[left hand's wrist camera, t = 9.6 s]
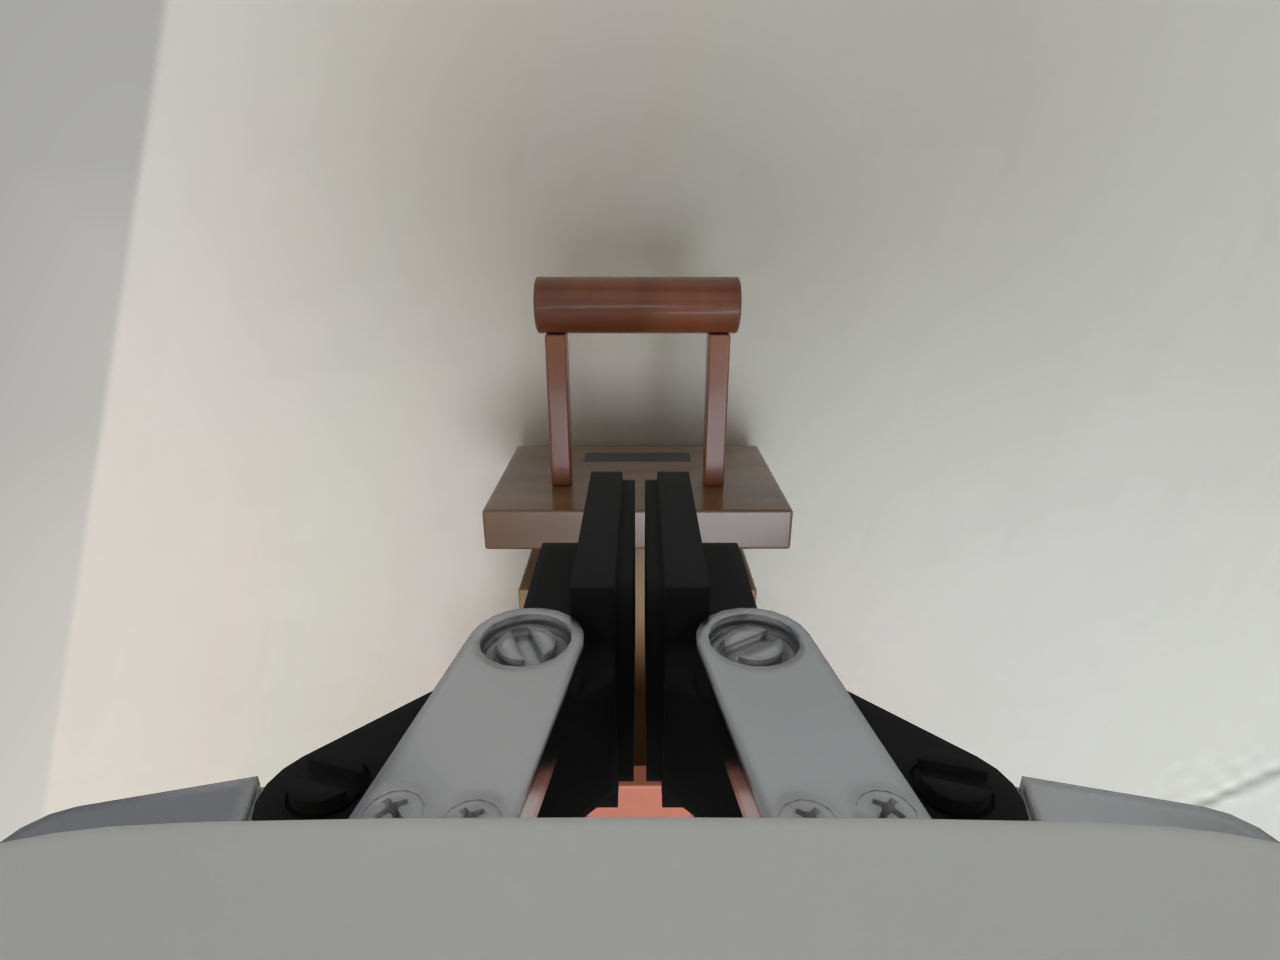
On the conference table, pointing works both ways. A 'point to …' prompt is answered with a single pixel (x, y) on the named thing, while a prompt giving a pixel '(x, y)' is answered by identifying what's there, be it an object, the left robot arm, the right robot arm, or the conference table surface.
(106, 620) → the conference table surface
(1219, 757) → the conference table surface
